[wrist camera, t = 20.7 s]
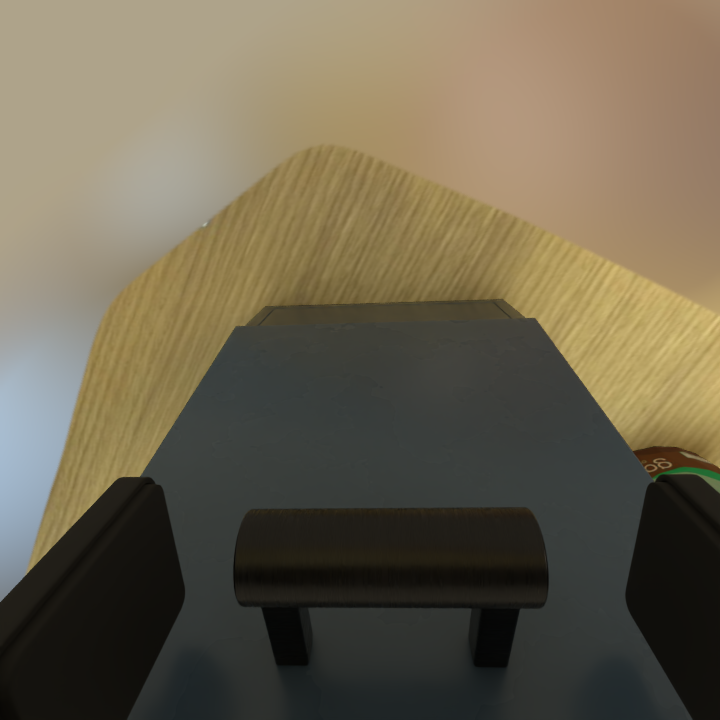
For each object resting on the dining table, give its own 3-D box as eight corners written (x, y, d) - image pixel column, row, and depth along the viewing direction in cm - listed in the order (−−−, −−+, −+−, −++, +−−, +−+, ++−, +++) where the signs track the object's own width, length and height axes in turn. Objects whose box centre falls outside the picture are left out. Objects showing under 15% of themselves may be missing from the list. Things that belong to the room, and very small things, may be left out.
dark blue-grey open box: (488, 522, 35) (508, 582, 30) (289, 523, 36) (273, 581, 30) (503, 299, 29) (531, 322, 24) (264, 306, 30) (239, 330, 24)
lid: (865, 822, 7) (1070, 677, 5) (-31, 795, 8) (-196, 661, 6) (533, 331, 23) (547, 243, 21) (238, 339, 24) (221, 255, 22)
